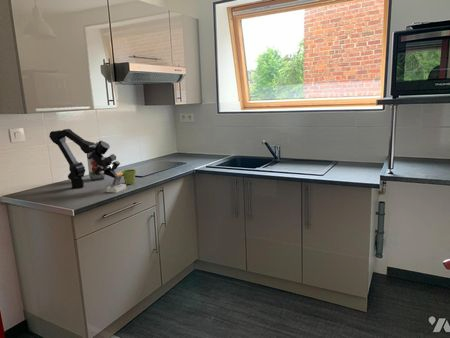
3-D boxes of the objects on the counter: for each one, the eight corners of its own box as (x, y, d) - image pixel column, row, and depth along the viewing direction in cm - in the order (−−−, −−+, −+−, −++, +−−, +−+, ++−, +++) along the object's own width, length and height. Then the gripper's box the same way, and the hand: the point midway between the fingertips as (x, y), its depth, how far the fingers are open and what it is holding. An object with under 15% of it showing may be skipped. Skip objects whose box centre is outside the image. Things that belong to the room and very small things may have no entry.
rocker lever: (111, 185, 209) (115, 173, 207) (116, 183, 214) (121, 171, 212) (113, 187, 209) (118, 175, 206) (118, 184, 214) (123, 173, 211)
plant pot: (125, 186, 221) (124, 172, 220) (120, 183, 229) (119, 170, 227) (139, 183, 227) (138, 170, 225) (134, 181, 234) (132, 168, 232)
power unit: (106, 191, 209) (106, 185, 208) (116, 187, 218) (116, 181, 217) (116, 192, 206) (115, 185, 206) (126, 188, 216) (125, 181, 215)
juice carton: (89, 178, 246) (85, 140, 240) (105, 177, 249) (101, 139, 244) (89, 181, 238) (85, 142, 232) (105, 179, 241) (101, 141, 236)
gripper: (96, 153, 200) (114, 172, 199) (116, 148, 217) (132, 166, 216) (86, 165, 204) (104, 185, 203) (106, 160, 221) (123, 177, 220)
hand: (116, 178), depth 210 cm, fingers closed, pressing on rocker lever
